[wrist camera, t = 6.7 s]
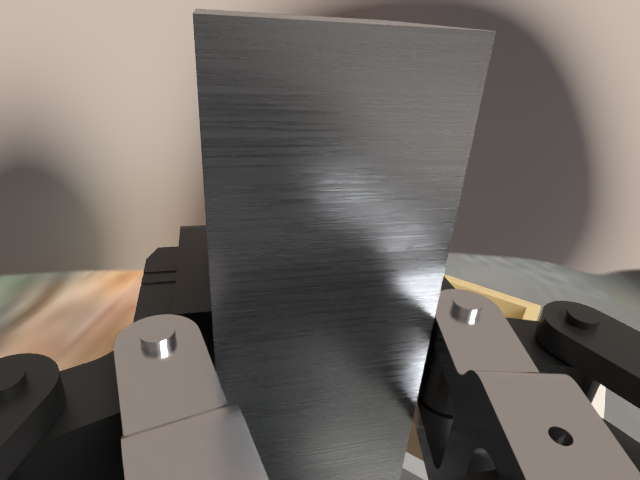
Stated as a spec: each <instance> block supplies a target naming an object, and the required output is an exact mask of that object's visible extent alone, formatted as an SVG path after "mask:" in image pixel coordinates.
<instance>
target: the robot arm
mask: <svg viewBox="0 0 640 480" xmlns="http://www.w3.org/2000/svg"><path fill="white" fill-rule="evenodd" d="M141 285H142V286H141V287H140V292H139V297H138V302H137V307H136V311H135V316H134V321H133V323H132V324H131V325H129V326H127V327H126V328H125V329H124V330H123V331H121V333H120V334H119V335H118V336H117V338H116V340H115V342H114V350H113V351H112V352H110V353H109V354H107V355H105V356H103V357H101V358H99V359H97V360H94V361H91V362H88V363H85V364H82V365H79V366H76V367H72V368H69V369H66V370H63V371H60V372H59V368H58V365H57V364H56V363H55V361H54V360H52V359H51V358H49V357H47V356H44V355H40V354H31V353H29V354H16V355H11V356H6V357H3V358H0V480H269V479H268V476H267V474H266V471H265V469H264V466H263V464H262V461H261V459H260V456H259V454H258V451H257V449H256V446H255V444H254V441H253V439H252V436H251V434H250V431H249V429H248V426H247V424H246V421H245V419H244V416H243V414H242V412H241V410H240V408H239V406H238V405H237V403H236V402H232V403H229V404H228V403H227V401H226V398H225V395H224V393H223V390H222V387H221V385H220V382H219V379H218V377H217V374H216V369H215V354H214V338H213V322H212V306H211V291H210V275H209V259H208V244H207V228H206V225H200V226H181V227H180V238H179V247H163V248H158V249H156V250H155V252H153V253H152V254H151V255H150V256H149V257H148V258H147V259H146V264H145V268H144V275H143V278H142V283H141ZM600 384H601V385H603V386H604V387H606V388H608V389H609V390H611V391H612V392H614V393H616V394H617V395H619V396H620V397H622V398H624V399H625V400H627V401H628V402H630V403H632V404H633V405H635V406H636V407H638V408H640V332H639V331H637V330H635V329H633V328H631V327H629V326H627V325H625V324H623V323H622V322H620V321H618V320H616V319H614V318H612V317H610V316H608V315H606V314H604V313H602V312H600V311H598V310H596V309H594V308H591V307H589V306H586V305H583V304H579V303H575V302H569V301H555V302H551V303H548V304H547V305H545V306H544V308H543V311H542V313H541V316H540V319H539V321H532V320H524V319H515V318H507V317H505V316H504V314H503V313H502V311H501V310H500V308H499V307H498V306H497V305H496V304H495V303H494V302H493V301H491V300H490V299H488V298H486V297H485V296H482V295H480V294H478V293H475V292H471V291H468V290H462V289H455V288H454V287H453V285H452V284H451V283H450V282H449V281H448V280H447V279H446V278H445V276H443V281H442V285H441V290H440V295H439V299H438V304H437V309H436V313H435V318H434V323H433V327H432V332H431V337H430V341H429V346H428V351H427V355H426V360H425V364H424V369H423V374H422V378H421V383H420V388H419V392H418V397H417V402H416V406H415V411H414V416H413V419H414V424H415V428H416V432H417V436H418V440H419V444H420V448H421V452H422V456H423V460H424V464H425V469H426V473H427V477H428V480H640V443H639V442H637V441H636V440H634V439H633V438H631V437H630V436H628V435H627V434H625V433H624V432H622V431H621V430H619V429H618V428H616V427H615V426H614V425H612V424H611V423H609V422H608V421H606V420H605V419H603V418H602V417H600V415H599V414H598V413H597V411H596V410H595V408H594V407H593V405H592V404H591V403H592V401H593V399H594V397H595V395H596V392H597V390H598V388H599V386H600Z"/></svg>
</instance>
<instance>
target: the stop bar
mask: <svg viewBox="0 0 640 480" xmlns="http://www.w3.org/2000/svg"><path fill="white" fill-rule="evenodd" d="M193 21H194V22H193V24H194V40H195V54H196V70H197V87H198V102H199V118H200V132H201V148H202V164H203V180H204V196H205V211H206V228H207V244H208V259H209V275H210V291H211V306H212V322H213V338H214V354H215V369H216V374H217V377H218V379H219V382H220V385H221V387H222V390H223V393H224V395H225V398H226V401H227V403H228V404H229V403H232V402H236V403H237V405H238V406H239V408H240V410H241V412H242V414H243V416H244V419H245V421H246V424H247V426H248V429H249V431H250V434H251V436H252V439H253V441H254V444H255V446H256V449H257V451H258V454H259V456H260V459H261V461H262V464H263V466H264V469H265V471H266V474H267V476H268V479H269V480H400V476H401V472H402V467H403V462H404V458H405V453H406V448H407V444H408V439H409V434H410V430H411V425H412V420H413V416H414V411H415V406H416V402H417V397H418V392H419V388H420V383H421V378H422V374H423V369H424V364H425V360H426V355H427V351H428V346H429V341H430V337H431V332H432V327H433V323H434V318H435V313H436V309H437V304H438V299H439V295H440V290H441V285H442V281H443V276H444V271H445V267H446V262H447V257H448V253H449V248H450V243H451V239H452V234H453V229H454V225H455V220H456V215H457V211H458V206H459V201H460V197H461V192H462V187H463V182H464V178H465V173H466V168H467V164H468V159H469V154H470V150H471V145H472V141H473V135H474V131H475V127H476V122H477V117H478V113H479V108H480V103H481V98H482V94H483V89H484V85H485V80H486V75H487V71H488V66H489V61H490V57H491V52H492V47H493V42H494V38H495V33H496V31H488V30H478V29H467V28H458V27H447V26H437V25H428V24H417V23H407V22H397V21H385V20H369V19H353V18H336V17H320V16H303V15H285V14H270V13H255V12H239V11H222V10H206V9H196V10H195V11H194V12H193Z"/></svg>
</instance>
